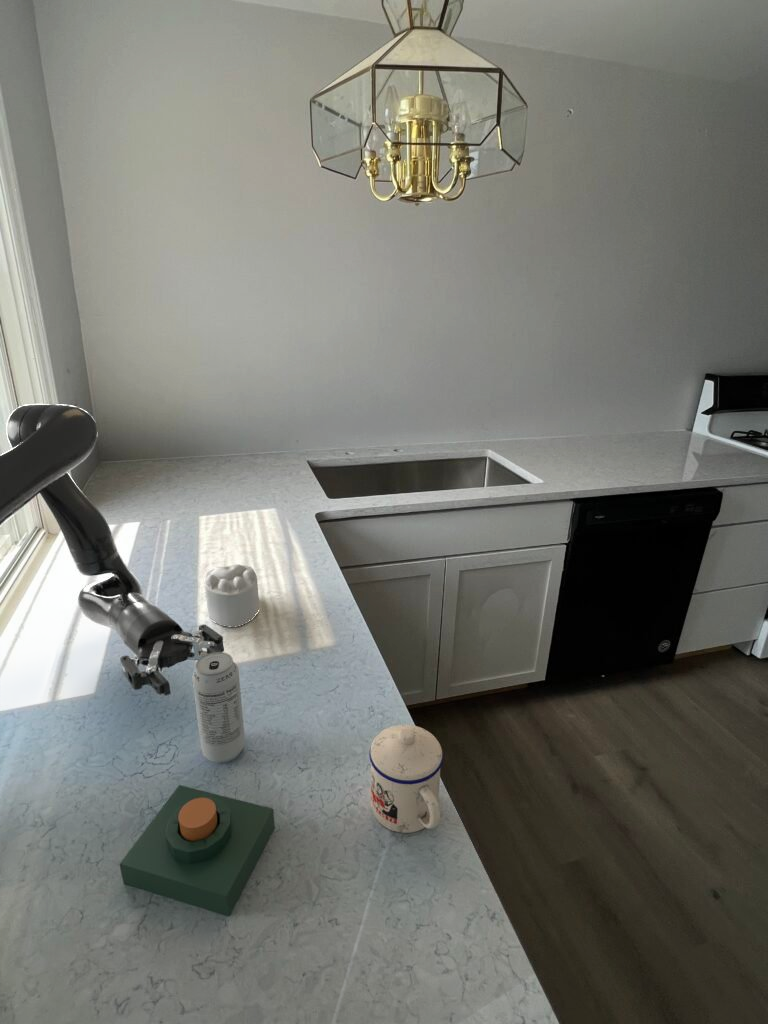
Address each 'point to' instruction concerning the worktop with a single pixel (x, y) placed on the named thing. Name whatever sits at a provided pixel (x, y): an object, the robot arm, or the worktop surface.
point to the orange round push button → (198, 819)
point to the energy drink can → (219, 707)
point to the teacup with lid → (405, 778)
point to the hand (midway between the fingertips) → (196, 676)
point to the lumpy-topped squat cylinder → (231, 594)
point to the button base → (200, 853)
